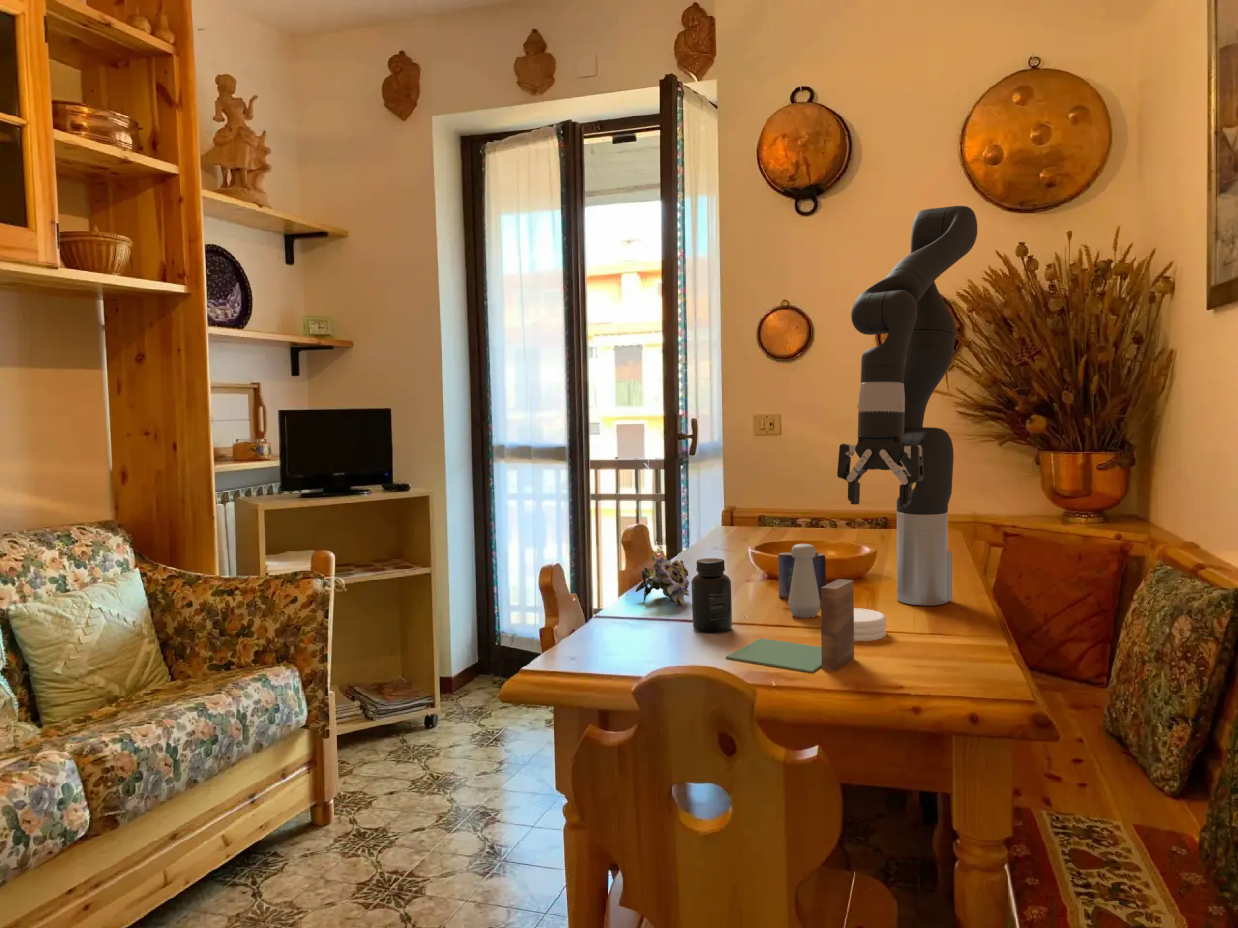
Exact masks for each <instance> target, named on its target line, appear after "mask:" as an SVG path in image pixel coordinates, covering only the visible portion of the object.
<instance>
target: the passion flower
mask: <svg viewBox="0 0 1238 928" xmlns="http://www.w3.org/2000/svg"><path fill="white" fill-rule="evenodd" d="M650 556H651V559H652V562H653V563H654V564H653V566H652V567H653V570H651V568H650V567H647V566H645V567H644V570H641V571H640V573H639V574H640V576H641V578H642V579H643V580H642V581H641V582H640V583H639V585H638V586H637V587H636V588H635V592H636V593H637V592H639V591H641V590H644V592H643V602H645V601H646V598H647V596H648V595H649V594H651V592H652V590H653V589H655V590H656V591H659V590H662V593H663V595H664V596H665V597H668V599H669V601H670V602H671V603H672V604H674V605H678V606H682V607H684V606H685V604H686V602H685V601H686V600H685V597H684V596H687V597H689V596H690V595H691V594H690V592H689V586H690V581H689V580H688V577H689V570H688V569H687V568H686V567H685V565H684V561H683V560H682V559H681V560H678V559H674V561H672V560H671V559H669V560H667V559H666V558H665V557H663V556H661V557H660V558H657V557H656V555H655V554H654V553H651V554H650ZM647 574H648V575H647ZM648 585H649V586H648Z"/></svg>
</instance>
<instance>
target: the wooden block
mask: <svg viewBox="0 0 1238 928" xmlns="http://www.w3.org/2000/svg"><path fill="white" fill-rule="evenodd" d="M854 584H855V582H854V580H852V579H845V578H843V579H842V578H837V579H836V580H834V581H832V582H829V583H826V585H825V586H823V587H821V601H820V603H821V604H820V626H821V628H820V632H821V633H820V635H821V636H820V637H821V640H820V641H821V643H820V644H821V646H820V647H821V653H822V667H821V670H825V671H826V670H827V671H832V672H833V671H834V672H838V671H840V670H841V669H842V668H843V667H845V666H846V665H848V664H849V663H851V662H852V661H854V660H855V641H854V608H855V605H854V604H855V603H854V602H855V601H854V600H855V595H854V594H855V593H854V590H855V589H854V588H855V587H854Z"/></svg>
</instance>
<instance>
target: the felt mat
mask: <svg viewBox="0 0 1238 928" xmlns="http://www.w3.org/2000/svg"><path fill="white" fill-rule="evenodd" d="M725 659H726V660H727V659H728V660H733V661H739V662H745V663H751V664H759V665H764V666H770V667H774V668H781V669H787V670H793V671H799V672H803V673H804V672H805V673H812V674H813V673H815V672H816V671H817V670H819V669H820V668H822V653H821V646H817V645H809V644H804V643H797V642H789V641H782V640H778V639H777V640H776V639H770V638H769V639H768V638H762V637H760V638H758V639H756V640H754V641H752V642H751V643H749V644H747V645H745V646H743V647H741V648H739V649H737V650H735V651H734V652H731V653H730V654H728V655H726V656H725Z"/></svg>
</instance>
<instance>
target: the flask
mask: <svg viewBox="0 0 1238 928" xmlns="http://www.w3.org/2000/svg"><path fill="white" fill-rule="evenodd" d="M777 559H778V579H777V580H778V597H779V599H784V600H789V594H790V588H791V582H792V575H793V569H794V563H795V558H793V557H792V552H780V553H778V555H777ZM826 559H827V557H826V555H825V554H824V553H822V552H821V553H820V552H818V551H816V555H815V557H814V558H812V560H813V565H814V571H815V576H816V582H817V587H818V592H819V598H820V600H821V587H823V586H825V585H827V574H826V573H827V571H826V570H827V569H826V568H827V566H826V561H827V560H826Z"/></svg>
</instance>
